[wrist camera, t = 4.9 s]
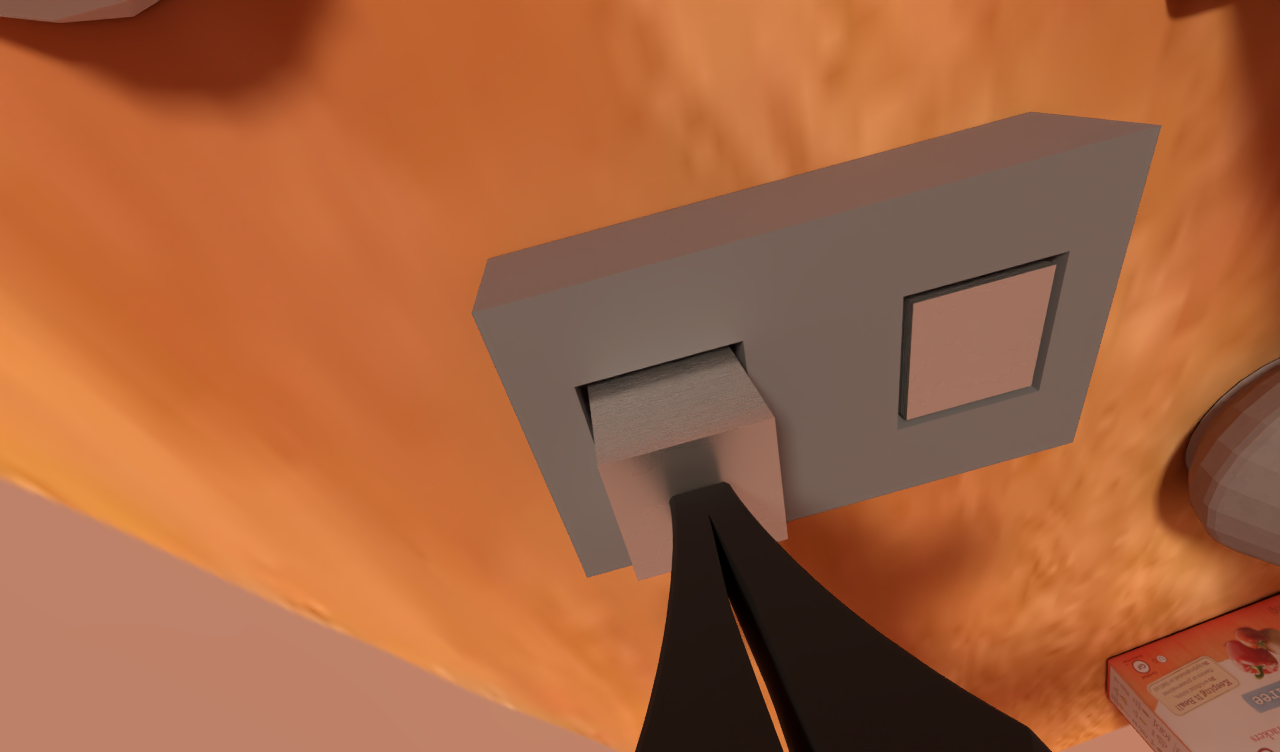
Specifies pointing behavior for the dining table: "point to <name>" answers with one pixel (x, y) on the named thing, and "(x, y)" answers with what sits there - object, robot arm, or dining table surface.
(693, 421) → the greyish pink cube
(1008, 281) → the pink matte cube
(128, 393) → the dining table surface
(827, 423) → the block
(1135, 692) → the cracker box
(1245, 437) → the coffee pot
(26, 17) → the mechanical component
